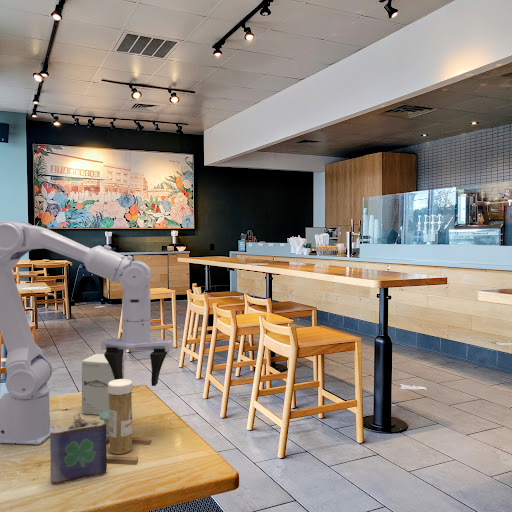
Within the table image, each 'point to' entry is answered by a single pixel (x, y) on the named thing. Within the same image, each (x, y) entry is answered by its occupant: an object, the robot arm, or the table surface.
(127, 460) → the u-shaped brown frame
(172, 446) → the table surface
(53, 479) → the flask
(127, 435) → the spice jar
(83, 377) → the supplement box
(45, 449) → the table surface
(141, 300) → the robot arm
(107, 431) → the bobbin
